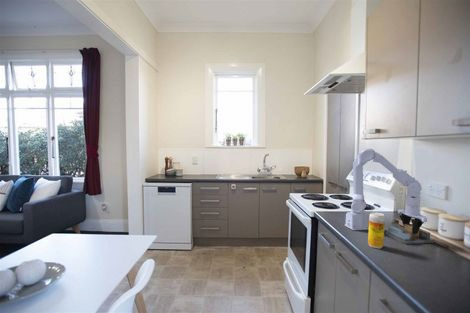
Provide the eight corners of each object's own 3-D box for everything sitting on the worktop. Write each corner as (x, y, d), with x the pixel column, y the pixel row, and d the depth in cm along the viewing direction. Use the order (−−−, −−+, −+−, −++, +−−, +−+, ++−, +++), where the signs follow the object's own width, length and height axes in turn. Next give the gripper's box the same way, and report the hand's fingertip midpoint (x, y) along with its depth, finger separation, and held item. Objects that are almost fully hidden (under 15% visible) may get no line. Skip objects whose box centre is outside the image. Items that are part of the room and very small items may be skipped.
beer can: (375, 249, 107) (377, 216, 106) (364, 244, 113) (366, 212, 112) (386, 248, 109) (388, 215, 108) (375, 242, 115) (377, 211, 114)
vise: (405, 244, 114) (406, 234, 114) (385, 234, 126) (386, 226, 125) (434, 242, 117) (435, 233, 116) (412, 233, 128) (412, 224, 128)
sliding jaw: (404, 240, 115) (405, 233, 115) (388, 232, 125) (388, 226, 125) (409, 239, 115) (410, 233, 115) (392, 231, 125) (393, 226, 125)
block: (411, 237, 119) (411, 227, 118) (403, 233, 123) (404, 224, 123) (418, 236, 120) (419, 226, 119) (411, 233, 124) (411, 223, 124)
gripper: (433, 208, 114) (431, 236, 115) (406, 200, 128) (405, 226, 129) (420, 208, 113) (418, 237, 113) (395, 201, 127) (393, 226, 128)
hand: (410, 231), depth 121 cm, fingers closed on block, 4 cm apart
